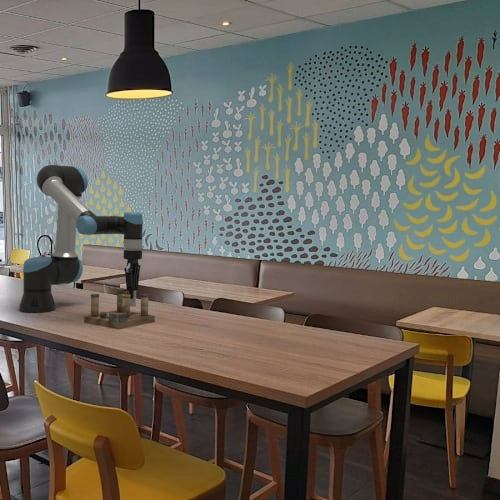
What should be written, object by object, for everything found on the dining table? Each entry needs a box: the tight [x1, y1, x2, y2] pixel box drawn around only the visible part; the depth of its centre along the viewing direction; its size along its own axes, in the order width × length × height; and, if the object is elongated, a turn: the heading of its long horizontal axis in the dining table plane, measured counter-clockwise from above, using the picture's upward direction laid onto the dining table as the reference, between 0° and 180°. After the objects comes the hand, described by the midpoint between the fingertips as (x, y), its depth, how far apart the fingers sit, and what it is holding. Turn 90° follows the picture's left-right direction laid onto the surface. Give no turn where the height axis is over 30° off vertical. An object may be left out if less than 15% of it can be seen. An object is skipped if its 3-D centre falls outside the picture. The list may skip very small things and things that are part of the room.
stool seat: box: [83, 290, 156, 330], centre depth 236 cm, size 20×20×11 cm
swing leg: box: [99, 293, 131, 318], centre depth 232 cm, size 12×3×9 cm, turn 106°
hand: (132, 306), depth 240 cm, fingers closed
